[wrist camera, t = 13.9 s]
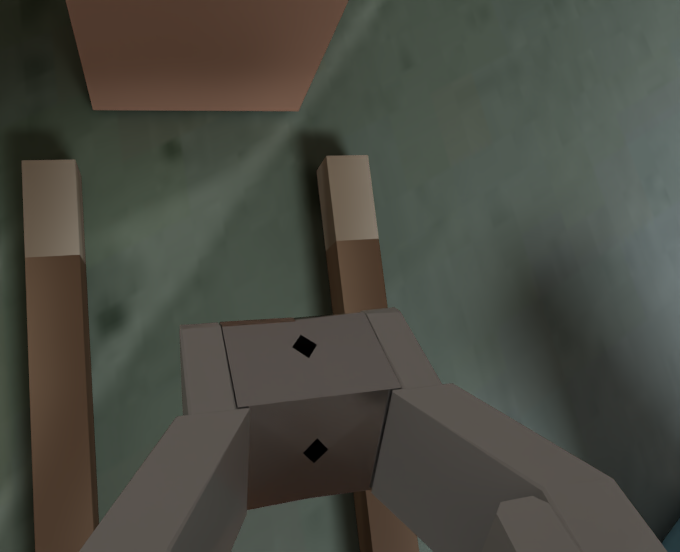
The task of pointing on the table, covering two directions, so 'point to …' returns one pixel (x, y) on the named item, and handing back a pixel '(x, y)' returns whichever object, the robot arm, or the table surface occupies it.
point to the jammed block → (202, 52)
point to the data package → (673, 539)
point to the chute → (74, 343)
